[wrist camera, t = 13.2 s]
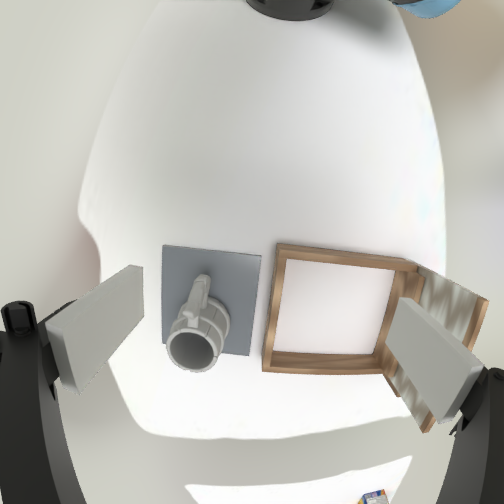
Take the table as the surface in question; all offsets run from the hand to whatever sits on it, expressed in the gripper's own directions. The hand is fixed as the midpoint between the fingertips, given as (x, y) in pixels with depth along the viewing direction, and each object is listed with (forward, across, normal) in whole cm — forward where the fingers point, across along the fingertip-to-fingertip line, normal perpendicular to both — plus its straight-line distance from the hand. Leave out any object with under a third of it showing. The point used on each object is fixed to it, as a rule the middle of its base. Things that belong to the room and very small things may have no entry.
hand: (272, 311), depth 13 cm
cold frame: (+25, +12, -11) cm, 30 cm away
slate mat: (+25, -7, -12) cm, 29 cm away
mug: (+25, -7, -12) cm, 28 cm away
